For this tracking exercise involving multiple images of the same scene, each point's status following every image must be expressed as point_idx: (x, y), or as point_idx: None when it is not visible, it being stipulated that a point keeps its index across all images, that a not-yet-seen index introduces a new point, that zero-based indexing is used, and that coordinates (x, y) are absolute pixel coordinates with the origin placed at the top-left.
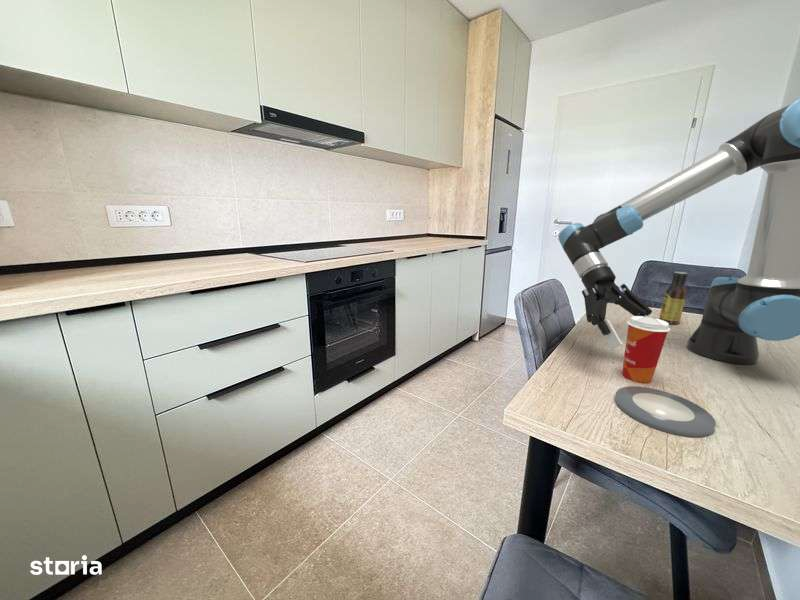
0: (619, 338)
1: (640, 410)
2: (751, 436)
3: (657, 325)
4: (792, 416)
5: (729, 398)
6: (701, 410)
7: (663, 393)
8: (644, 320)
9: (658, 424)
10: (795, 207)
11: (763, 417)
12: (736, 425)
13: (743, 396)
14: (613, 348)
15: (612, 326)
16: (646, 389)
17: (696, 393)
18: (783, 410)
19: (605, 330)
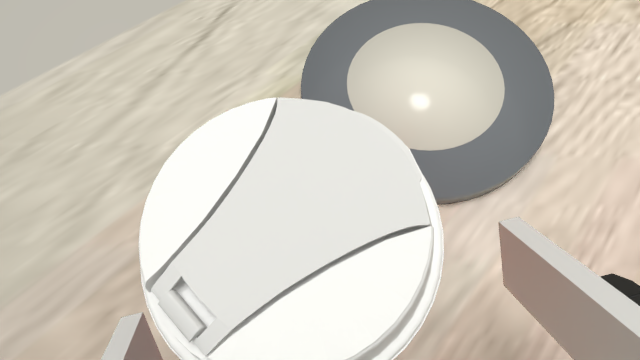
0: (522, 238)
1: (513, 65)
2: (276, 7)
3: (323, 104)
4: (56, 68)
5: (114, 151)
6: (318, 62)
7: None
8: (332, 217)
9: (503, 16)
10: None
11: (143, 66)
12: (263, 39)
13: (50, 160)
14: (505, 285)
15: (588, 293)
16: None
17: None
18: (37, 91)
19: (638, 289)
